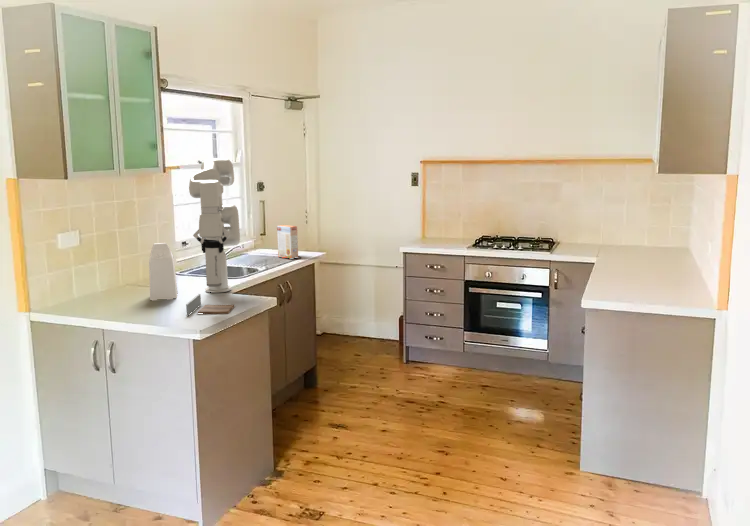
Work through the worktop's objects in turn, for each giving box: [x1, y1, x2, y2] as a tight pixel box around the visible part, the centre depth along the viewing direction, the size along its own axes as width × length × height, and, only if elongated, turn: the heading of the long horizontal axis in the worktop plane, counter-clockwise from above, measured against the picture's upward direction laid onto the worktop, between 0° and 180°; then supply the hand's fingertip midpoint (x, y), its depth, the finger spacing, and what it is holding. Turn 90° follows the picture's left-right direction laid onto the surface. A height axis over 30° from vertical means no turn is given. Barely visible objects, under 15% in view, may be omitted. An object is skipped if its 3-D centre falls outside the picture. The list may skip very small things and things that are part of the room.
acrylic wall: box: [185, 293, 202, 316], centre depth 293 cm, size 20×1×5 cm, turn 0°
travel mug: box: [204, 239, 222, 287], centre depth 289 cm, size 6×7×20 cm
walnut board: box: [197, 303, 235, 315], centre depth 293 cm, size 13×13×1 cm
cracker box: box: [276, 224, 299, 259], centre depth 427 cm, size 14×6×21 cm, turn 44°
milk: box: [148, 242, 179, 301], centre depth 319 cm, size 12×12×26 cm
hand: (212, 252), depth 288 cm, fingers closed on travel mug, 6 cm apart
